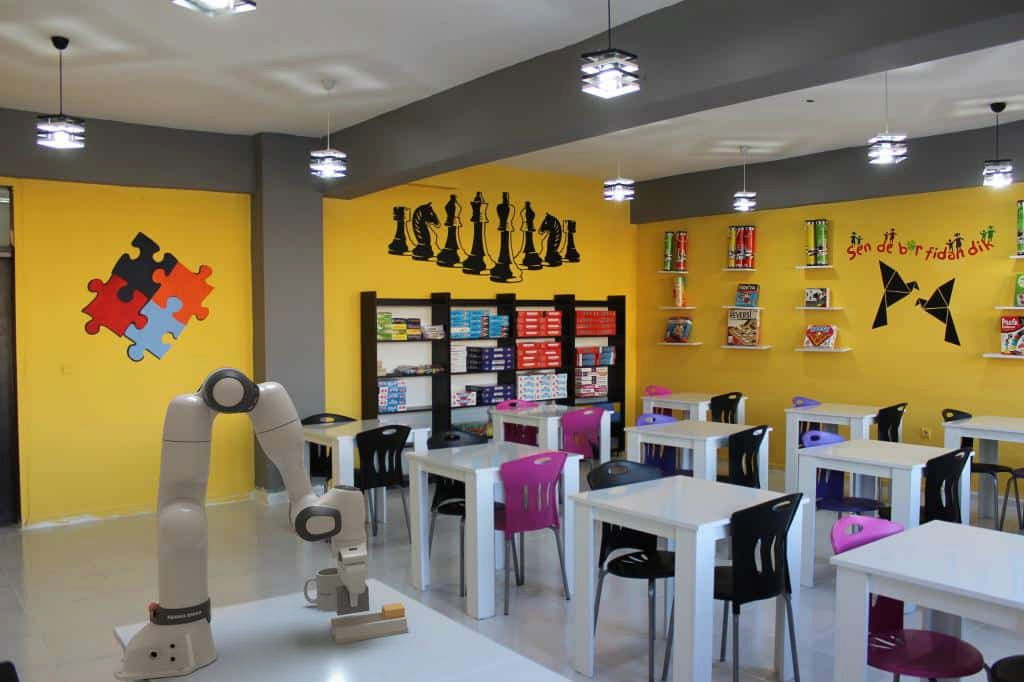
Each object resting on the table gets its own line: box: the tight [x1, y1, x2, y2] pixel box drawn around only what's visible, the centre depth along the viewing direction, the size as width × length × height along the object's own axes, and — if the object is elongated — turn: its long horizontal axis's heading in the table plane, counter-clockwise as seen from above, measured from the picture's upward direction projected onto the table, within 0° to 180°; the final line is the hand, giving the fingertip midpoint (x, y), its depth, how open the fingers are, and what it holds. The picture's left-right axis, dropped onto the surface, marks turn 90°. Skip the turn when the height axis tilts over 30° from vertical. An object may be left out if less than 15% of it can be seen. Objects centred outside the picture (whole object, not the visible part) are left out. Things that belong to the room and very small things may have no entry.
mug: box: [303, 566, 344, 613], centre depth 232 cm, size 12×9×10 cm
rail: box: [330, 602, 409, 645], centre depth 210 cm, size 18×10×6 cm, turn 111°
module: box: [334, 582, 370, 617], centre depth 208 cm, size 8×5×6 cm, turn 111°
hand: (351, 602), depth 208 cm, fingers closed on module, 5 cm apart
